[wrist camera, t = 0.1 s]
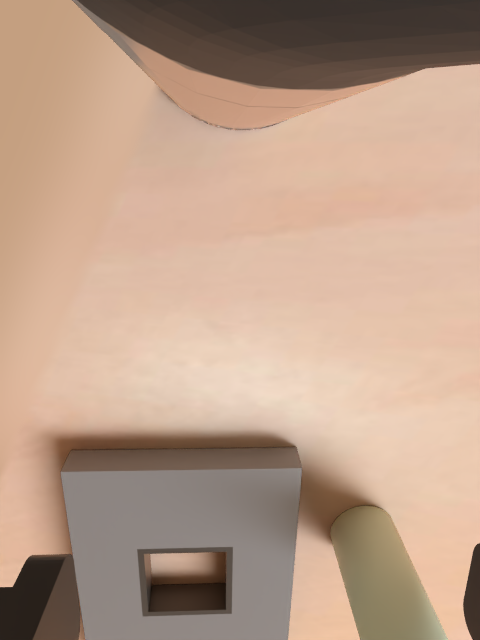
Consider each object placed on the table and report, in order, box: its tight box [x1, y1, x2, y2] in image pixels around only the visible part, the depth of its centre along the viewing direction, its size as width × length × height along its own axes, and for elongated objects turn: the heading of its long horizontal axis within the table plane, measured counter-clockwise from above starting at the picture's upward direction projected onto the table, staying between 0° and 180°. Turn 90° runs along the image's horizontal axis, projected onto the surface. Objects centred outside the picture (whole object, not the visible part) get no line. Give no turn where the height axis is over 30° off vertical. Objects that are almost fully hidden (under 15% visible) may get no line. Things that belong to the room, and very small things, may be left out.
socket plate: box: [61, 447, 302, 640], centre depth 31 cm, size 18×14×2 cm
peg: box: [330, 506, 448, 640], centre depth 27 cm, size 4×4×10 cm
